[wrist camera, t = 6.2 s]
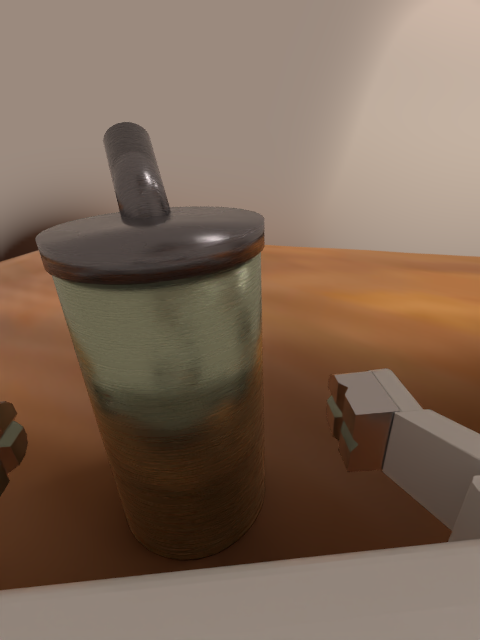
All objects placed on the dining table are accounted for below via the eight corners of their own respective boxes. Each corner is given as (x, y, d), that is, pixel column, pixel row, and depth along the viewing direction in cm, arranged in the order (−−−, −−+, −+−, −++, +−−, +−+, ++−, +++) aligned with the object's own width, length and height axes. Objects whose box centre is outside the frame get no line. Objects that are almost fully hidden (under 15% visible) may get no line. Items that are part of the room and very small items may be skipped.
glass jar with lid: (224, 397, 17) (201, 123, 12) (294, 522, 11) (313, 88, 6) (114, 429, 15) (30, 126, 10) (129, 595, 9) (-53, 82, 4)
